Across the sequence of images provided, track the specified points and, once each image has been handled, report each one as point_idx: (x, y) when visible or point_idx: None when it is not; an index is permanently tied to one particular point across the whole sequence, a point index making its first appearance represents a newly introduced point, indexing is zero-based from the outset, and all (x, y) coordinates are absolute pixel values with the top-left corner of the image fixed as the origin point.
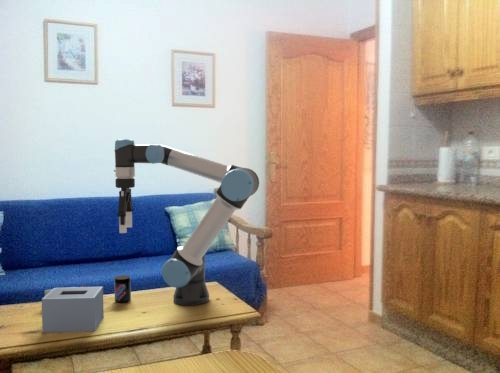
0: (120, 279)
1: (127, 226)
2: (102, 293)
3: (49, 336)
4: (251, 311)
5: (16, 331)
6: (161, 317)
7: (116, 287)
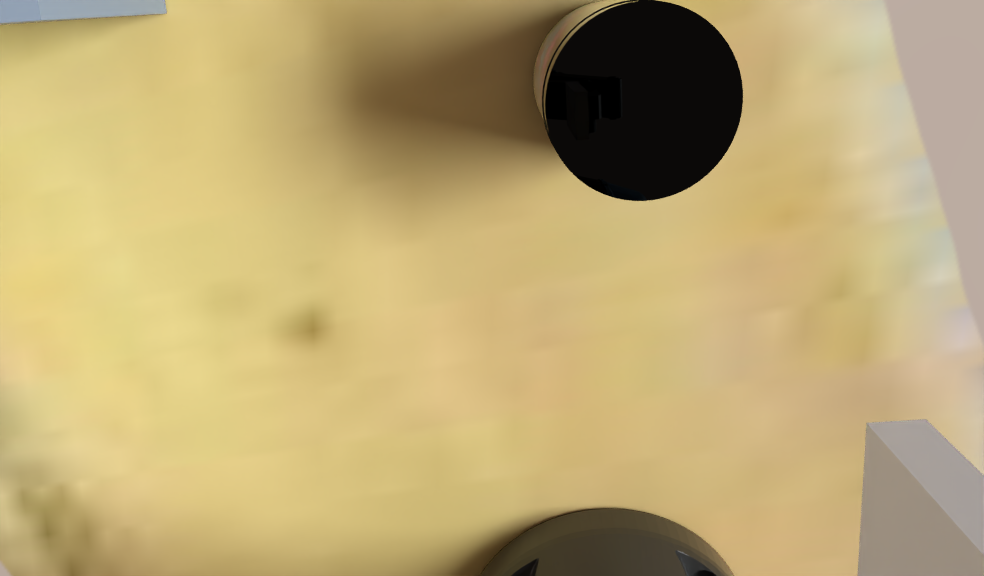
0: (545, 103)
1: (877, 502)
2: (43, 20)
3: None
4: None
5: None
6: (198, 472)
7: (556, 41)
